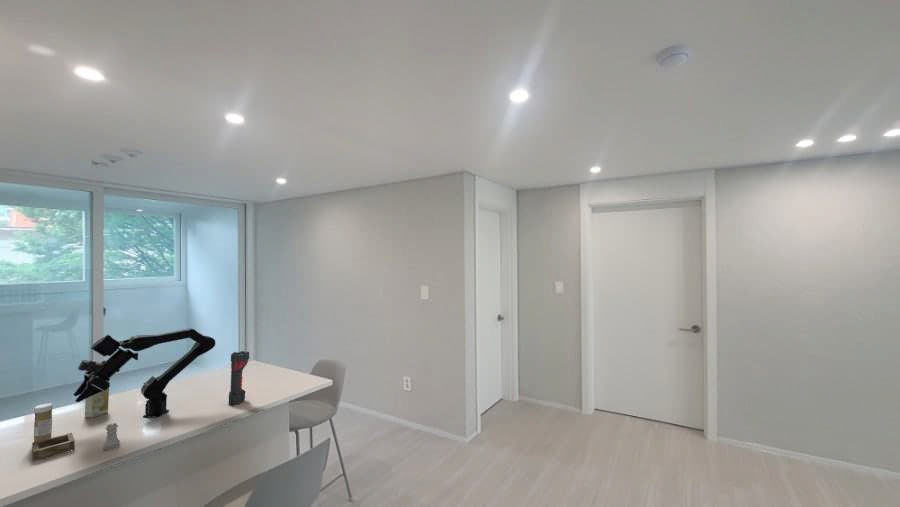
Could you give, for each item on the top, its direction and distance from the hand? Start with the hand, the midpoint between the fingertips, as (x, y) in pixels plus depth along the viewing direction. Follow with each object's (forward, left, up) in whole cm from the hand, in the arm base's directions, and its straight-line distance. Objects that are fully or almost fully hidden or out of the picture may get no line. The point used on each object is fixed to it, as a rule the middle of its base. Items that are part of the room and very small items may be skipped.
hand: (75, 398), depth 139 cm
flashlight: (-45, -31, -14) cm, 56 cm away
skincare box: (+8, -18, -14) cm, 24 cm away
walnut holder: (-5, +12, -14) cm, 19 cm away
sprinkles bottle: (+5, +6, -14) cm, 16 cm away
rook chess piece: (-23, +10, -14) cm, 28 cm away
